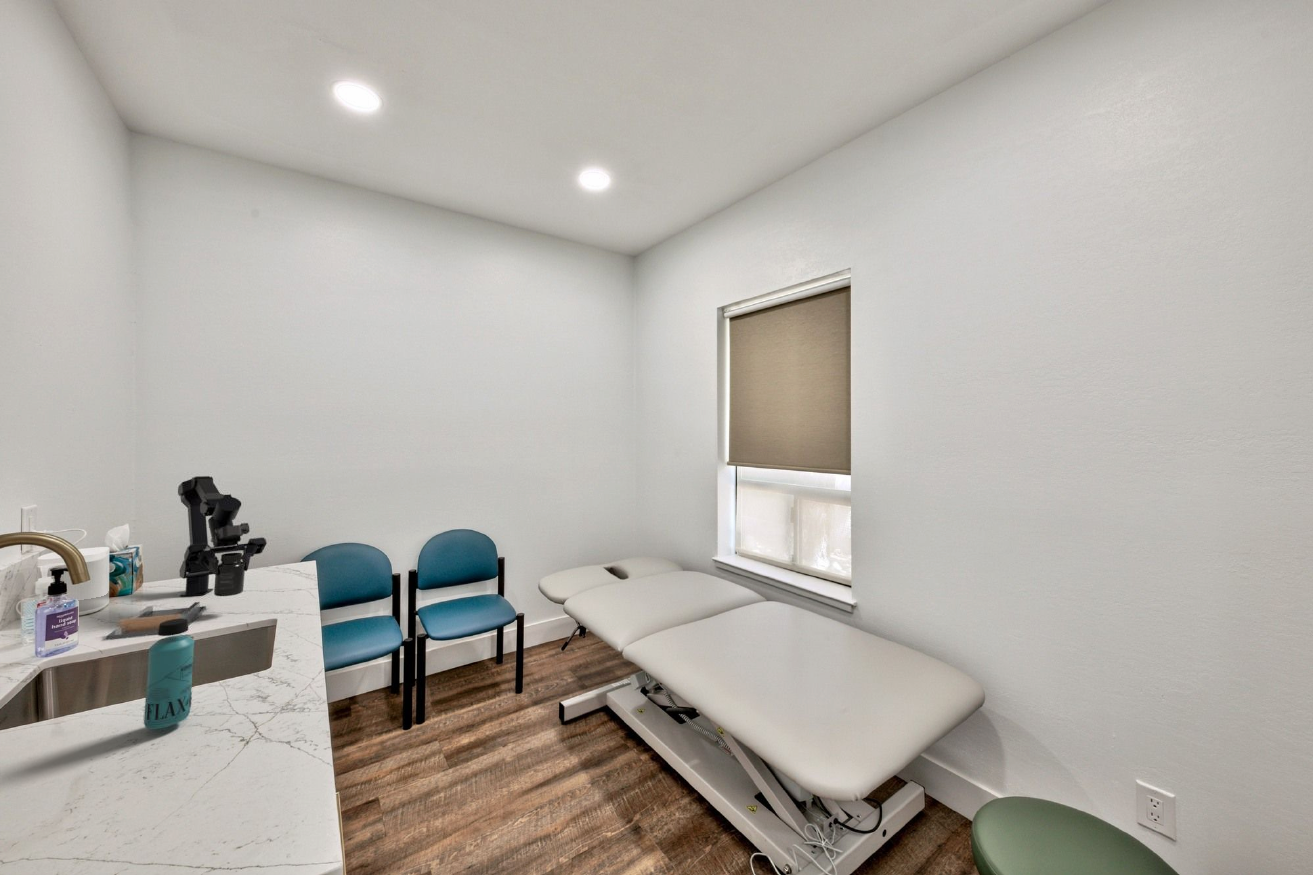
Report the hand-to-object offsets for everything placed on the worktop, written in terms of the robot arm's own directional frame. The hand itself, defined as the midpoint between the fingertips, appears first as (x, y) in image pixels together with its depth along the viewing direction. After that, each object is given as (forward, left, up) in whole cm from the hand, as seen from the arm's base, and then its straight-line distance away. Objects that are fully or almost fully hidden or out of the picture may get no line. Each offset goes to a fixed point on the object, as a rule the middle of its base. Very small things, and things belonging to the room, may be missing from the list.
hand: (232, 572), depth 150 cm
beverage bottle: (+66, +16, -13) cm, 69 cm away
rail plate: (+3, -15, -13) cm, 20 cm away
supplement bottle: (-1, -1, -7) cm, 7 cm away
